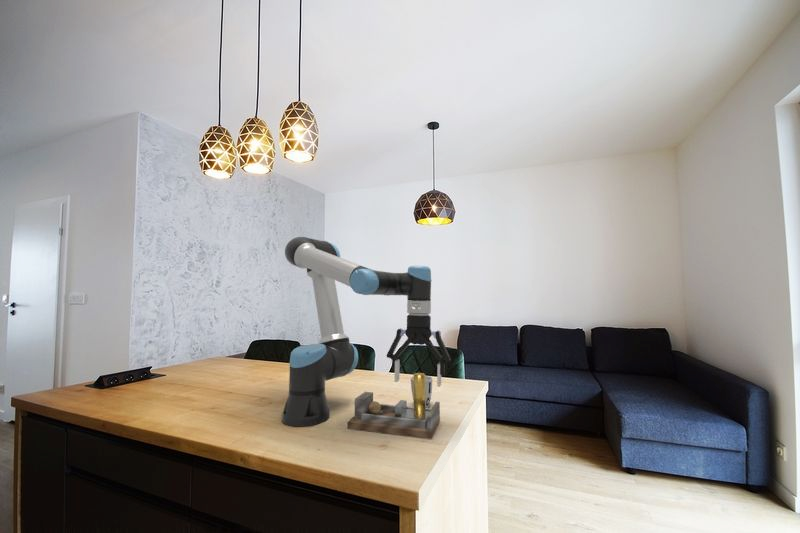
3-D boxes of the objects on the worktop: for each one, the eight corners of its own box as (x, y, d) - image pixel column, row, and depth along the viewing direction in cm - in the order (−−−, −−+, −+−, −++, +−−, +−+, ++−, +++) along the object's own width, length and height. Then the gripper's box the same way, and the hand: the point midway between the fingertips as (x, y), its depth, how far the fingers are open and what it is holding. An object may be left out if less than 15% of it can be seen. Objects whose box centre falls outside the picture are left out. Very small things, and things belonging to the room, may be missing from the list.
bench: (347, 428, 96) (347, 401, 97) (365, 413, 109) (365, 389, 110) (431, 439, 88) (430, 409, 89) (439, 421, 102) (439, 395, 103)
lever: (394, 421, 95) (394, 375, 97) (401, 413, 102) (401, 370, 104) (426, 425, 92) (426, 377, 94) (431, 416, 99) (431, 372, 101)
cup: (431, 410, 112) (431, 381, 113) (409, 408, 113) (409, 380, 115) (433, 403, 120) (433, 376, 121) (412, 401, 121) (412, 375, 122)
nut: (366, 416, 100) (366, 402, 100) (371, 411, 103) (371, 399, 104) (378, 417, 99) (378, 404, 99) (382, 413, 102) (382, 400, 103)
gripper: (377, 313, 100) (375, 382, 98) (456, 316, 93) (456, 390, 91) (385, 312, 107) (384, 376, 105) (459, 315, 100) (459, 384, 98)
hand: (417, 383), depth 98 cm, fingers open, 13 cm apart
